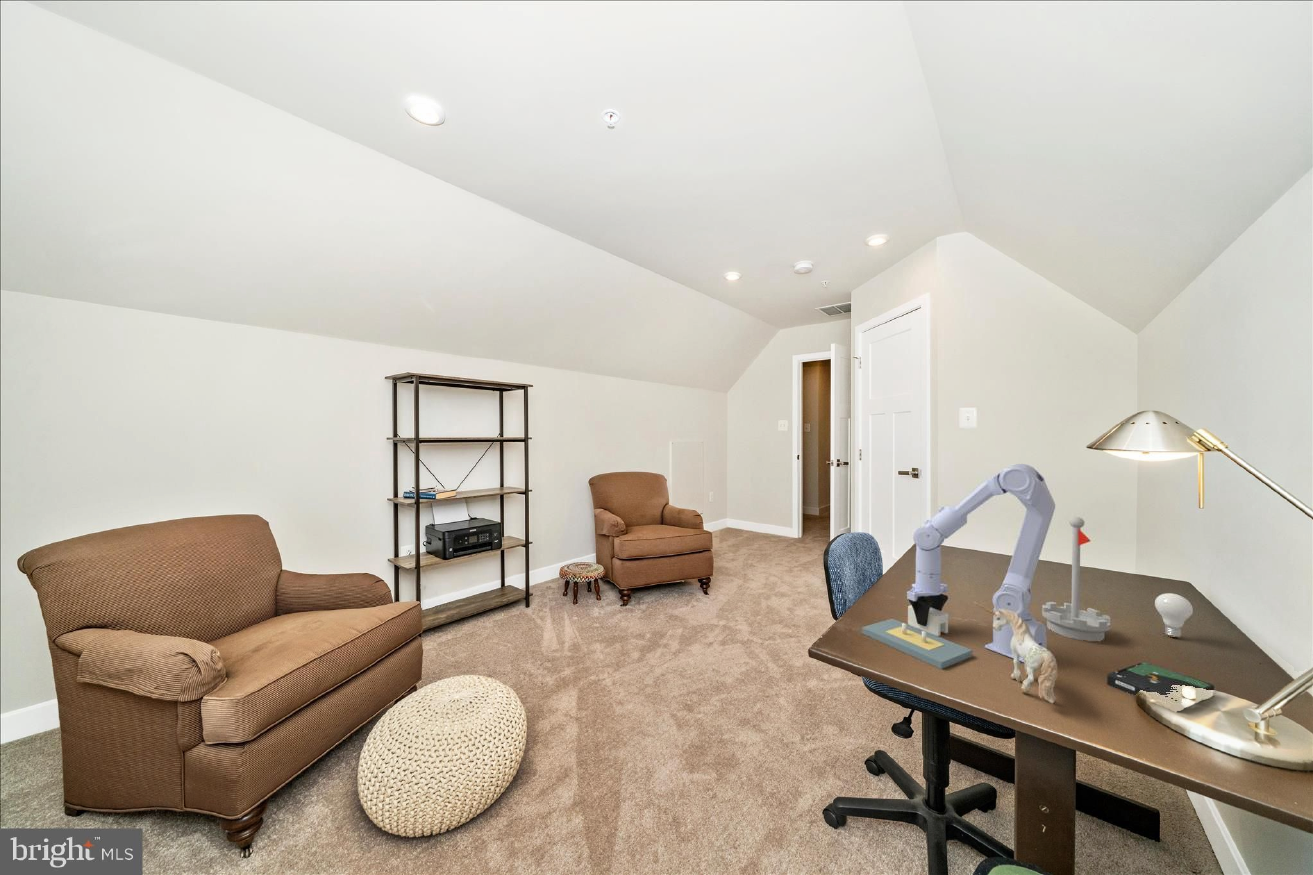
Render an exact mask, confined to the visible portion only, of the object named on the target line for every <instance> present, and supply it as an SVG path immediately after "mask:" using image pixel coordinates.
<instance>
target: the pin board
mask: <svg viewBox="0 0 1313 875" xmlns="http://www.w3.org/2000/svg"><path fill="white" fill-rule="evenodd" d="M861 634H863V635H866V636H867V637H869V636H870V637H869V638H871V639H873V640H876V641H878V642H880V643H883V644H885V645H888V646H889V647H891V648H893V649H896V650H898V651H901V652H903V653H905V654H906V655H909V656H911V657H913V658H915V659H918V660H920V661H922V662H924V663H926V664H929V665H932V666H933V667H935V668H938V669H939V670H943V669H946V668H948V667H950V666H952V665H955V664H957V663H960V662H963V661H965V660H968V659H970V658H972V657H973V650H972V649H971V648H968V647H965V646H963V645H960V644H957V643H955V642H953V641H950V640H947V639H946V638H942V637H939V636H936V635H934V634H931V633H929V632H926V631H924V630H921V629H918V628H916V627H913V626H911V625H908V623H904V622H902V621H899V620H897V619H893V618H890V619H886V620H882V621H879V622H876V623H873V624H869V625H866V626H865V625H864V626H862V627H861Z"/></svg>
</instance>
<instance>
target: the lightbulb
mask: <svg viewBox="0 0 1313 875" xmlns="http://www.w3.org/2000/svg"><path fill="white" fill-rule="evenodd" d="M1154 606H1155V609H1156V610H1157V612H1158V613H1159V615H1160V616H1161V618H1162V620H1163V624H1164V629H1165V630H1164V631H1165V632H1164V634H1165V633H1166V634H1165V635H1167V634H1168V635H1173V636H1181V635H1182V631H1181V630H1182V627H1183V626H1184V623H1185V621H1186V620H1188V619H1189V618H1190V617H1191V616H1192V614H1193V612H1194V610H1193V608H1194V607H1193V605H1192V603H1191V602H1190V601H1189V600H1188V599H1186V598H1185V597H1183V596H1182V595H1179V594H1176V593H1171V592H1170V593H1169V592H1167V593H1162V594H1160V595H1158V596H1157V597H1156V598H1155V600H1154ZM1168 635H1167V636H1168ZM1181 637H1182V636H1181Z"/></svg>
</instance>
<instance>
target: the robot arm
mask: <svg viewBox="0 0 1313 875" xmlns="http://www.w3.org/2000/svg"><path fill="white" fill-rule="evenodd" d="M1045 480H1046V479H1045V477H1044V476H1043V475H1042V474H1041V473H1040V472H1039V471H1038V470H1037V469H1035V468H1034V467H1033V466H1031V465H1029V464H1025V463H1018V464H1015V465H1011V466H1008V467H1006V468H1004V469H1003V470H1002V471H1001V472H999V473H997V474H994V475H993V476H991V477H990V478H988V479H986V480H985V481H984V482H982V484H980V485H979V486H978V487H976V489H974V490H973V491H972V492H971V493H970V494H969V495H968V496H966V497H965V498H964V499H963V500H962V501H961V502H959V503H958V504H957V505H946V506H945V507H944V506H942V507H940V508H939V509H938V510H937V511H938V513H937V514H936V515H935V516H933V517H932V518H931V519H930V520H929V519H926V520H925V521H924V524H925V525H924V526H920V527H917V529H916V530H915V531H914V533H913V537H912V538H913V539H912V540H913V542H914V544H915V546H916V551H915V583H911V589H910V590H908V591H907V592H906V596H907V597H906V599H907V600H908V602H909V603H910V605H912V607H913V610H914V613H915V616H916V620H917V624H920V625H922V626H926V625H927V621H928V614H929V610H930V607H931V608H934V609H936V610H939V611H942V612H943V608H944V606H945V604H946V603H947V601H948V600H949V596H948V595H946V594H943V593H948V592H949V589H948V588H949V585H948V584H945V583H942V554H941V553H942V549H941V547H942V546H941V545H942V544H944V541H945V539H948V538H950V537H951V536H953V534H954V533H956V532H958V531H959V530H960V529H961V528H962V527H964V526H966V525H967V523H968V515H969V514H971V513H972V512H973V511H975V510H976V509H978V508H979V507H980V506H981V505H984V504H985V503H986V502H987V501H989V500H990V499H991V498H992V497H994V496H995V497H996V496H1000V495H1005V494H1007V493H1009V494H1010V495H1013V496H1014V497H1016V498H1017V499H1018V500H1019V502H1020V504H1022V506H1024V507H1025V509H1026V512H1025V515H1024V518H1023V522H1022V525H1021V528H1020V531H1019V535H1018V537H1017V540H1016V544H1015V547H1014V551H1013V554H1012V555H1011V556H1012V557H1011V560H1010V563H1009V566H1008V569H1007V572H1006V575H1005V577H1004V579H1003V582H1002V584H1001V585H1000V587H999V589H998V590H997V591H996V592H995V593H994V594H993V596H992V603H993V604H992V605H993V606H994V607H993V610H992V611H994V612H997V611H998V610H997V609H999V608H1000V609H1005V610H1009V611H1012V612H1015V613H1016V614H1017V615H1018V616H1019V617H1020V618H1021V619H1022V620H1023V621H1025V622H1026V624H1027V625H1028V627H1029V629H1030V632H1031V633H1032V635H1033V637H1034V638H1033V640H1034V641H1035V642H1036V643H1037V644H1038V645H1040V646H1041V647H1044V648H1046V649H1047V638H1048V637H1047V634H1048V631H1047V626H1046V625H1045V624H1044V623H1043V622H1040V621H1039V620H1036V619H1035V618H1034V617H1033V614H1032V613H1031V611H1030V610H1029V608H1028V607H1029V606H1030V604H1031V603H1032V601H1033V595H1032V590H1031V588H1032V587H1031V586H1032V584H1033V579H1034V575H1035V572H1036V569H1037V566H1038V562H1039V559H1040V556H1041V553H1042V551H1043V550H1042V549H1043V547H1044V544H1045V540H1046V539H1047V534H1048V531H1049V529H1050V526H1051V523H1052V519H1053V516H1054V513H1055V510H1056V503H1055V501H1054V499H1053V496H1052V494H1051V492H1050V490H1049V488H1048V486H1047V483H1046V481H1045ZM992 616H993V622H994V620H995V615H993V614H992ZM993 622H992V623H993ZM1013 636H1014V632H1013V629H1012V627H1011V626H1010V625H1009V624H1008V625H1005V626H1003V627H1002V628H1001V631H995V630H994V628H993V627H992V642H989V643H988V644H985V645H984V649H985V648H986V649H988V650H991V651H993V652H995V653H998V654H1000V655H1003V656H1005V657H1009V658H1011V659H1013V660H1014V656H1013V653H1012V649H1011V640H1012V637H1013ZM1019 661H1020V663H1021V662H1022V663H1024V659H1023V658H1022V657H1021V656H1020V657H1019Z"/></svg>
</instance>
